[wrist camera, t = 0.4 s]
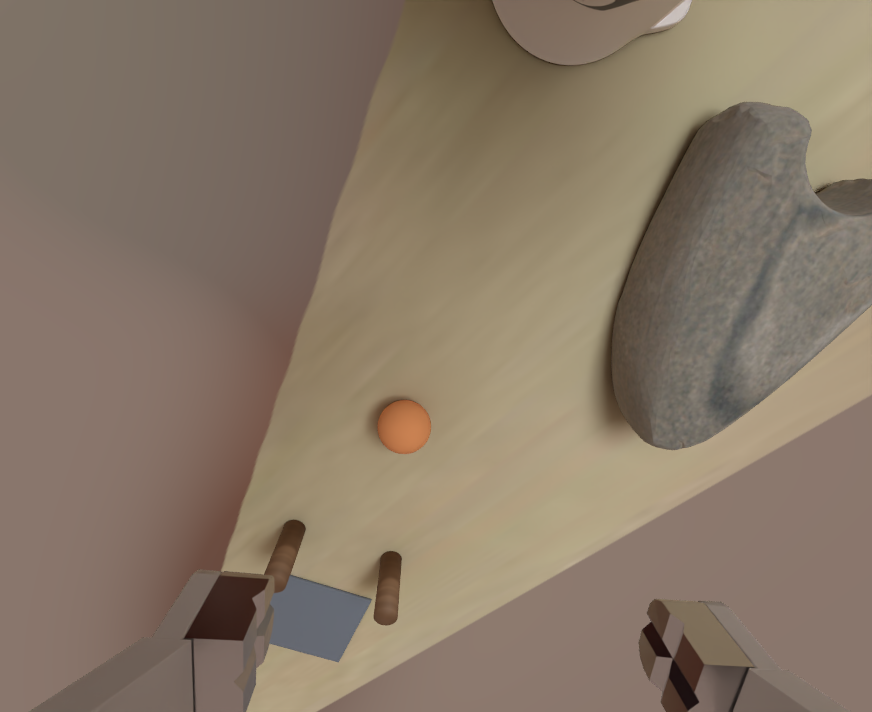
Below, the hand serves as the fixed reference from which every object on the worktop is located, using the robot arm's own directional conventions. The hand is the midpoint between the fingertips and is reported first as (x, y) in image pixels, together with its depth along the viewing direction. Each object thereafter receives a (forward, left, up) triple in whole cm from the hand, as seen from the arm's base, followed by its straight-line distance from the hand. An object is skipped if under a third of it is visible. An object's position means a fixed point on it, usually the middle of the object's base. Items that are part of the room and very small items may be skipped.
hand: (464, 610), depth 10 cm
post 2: (+36, +9, -36) cm, 52 cm away
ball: (+16, +3, -34) cm, 37 cm away
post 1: (+36, -3, -36) cm, 51 cm away
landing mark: (+50, +3, -36) cm, 62 cm away
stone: (-8, +24, -37) cm, 45 cm away
